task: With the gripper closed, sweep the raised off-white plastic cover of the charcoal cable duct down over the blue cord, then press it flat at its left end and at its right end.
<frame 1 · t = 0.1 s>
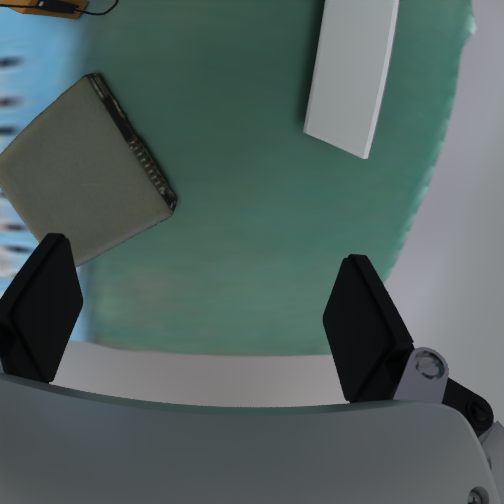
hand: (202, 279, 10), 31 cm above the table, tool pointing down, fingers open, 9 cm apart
network switch: (82, 174, 39), on the table
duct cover: (353, 33, 24), point 8 cm above the table, hinge at 60.0°
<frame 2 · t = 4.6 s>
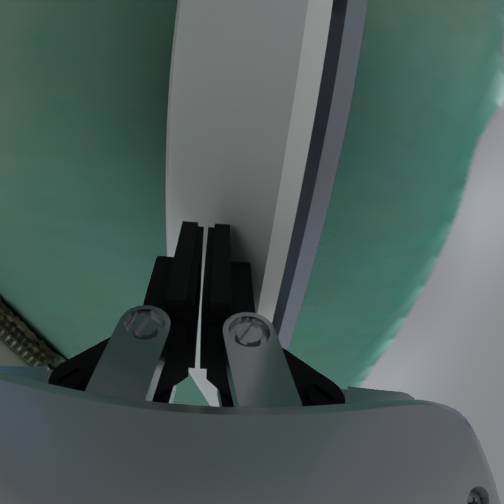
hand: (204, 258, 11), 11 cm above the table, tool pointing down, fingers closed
cable duct: (255, 165, 20), on the table
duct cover: (210, 225, 13), point 8 cm above the table, hinge at 59.7°, touching gripper
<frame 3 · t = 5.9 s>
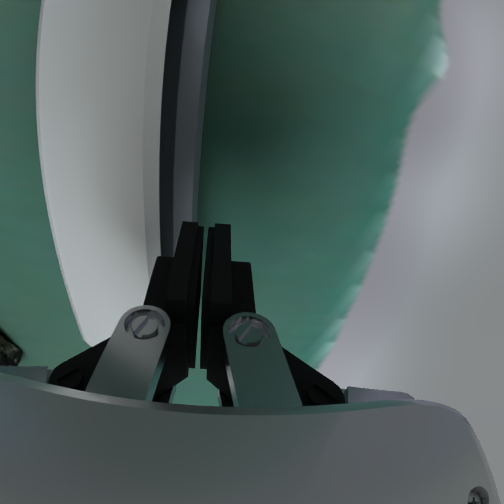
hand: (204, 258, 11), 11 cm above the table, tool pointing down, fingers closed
cable duct: (146, 158, 20), on the table
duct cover: (89, 206, 13), point 7 cm above the table, hinge at 32.3°
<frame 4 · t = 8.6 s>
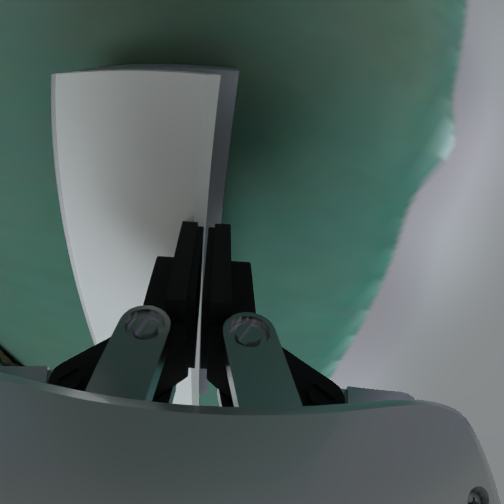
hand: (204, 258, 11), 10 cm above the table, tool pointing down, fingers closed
cable duct: (165, 240, 22), on the table
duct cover: (128, 311, 16), point 7 cm above the table, hinge at 29.5°, touching gripper
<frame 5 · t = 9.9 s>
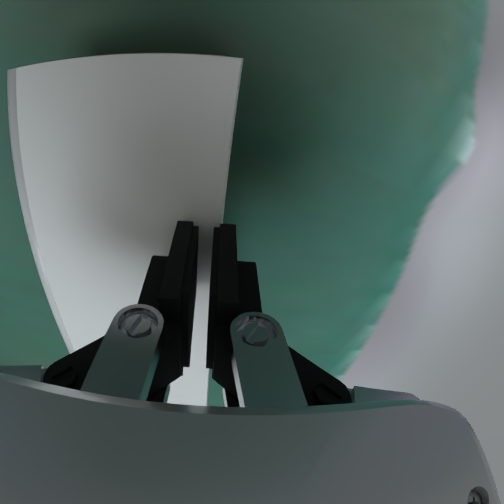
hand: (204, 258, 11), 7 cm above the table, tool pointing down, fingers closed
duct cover: (124, 323, 15), point 6 cm above the table, hinge at 6.9°, touching gripper
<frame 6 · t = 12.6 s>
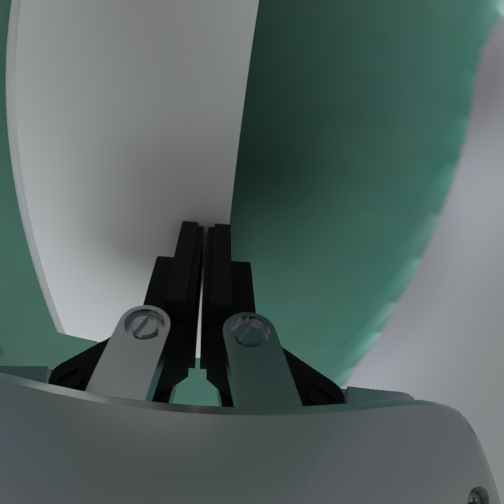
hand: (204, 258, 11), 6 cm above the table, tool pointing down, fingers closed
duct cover: (107, 76, 8), point 6 cm above the table, hinge at 4.1°, touching gripper
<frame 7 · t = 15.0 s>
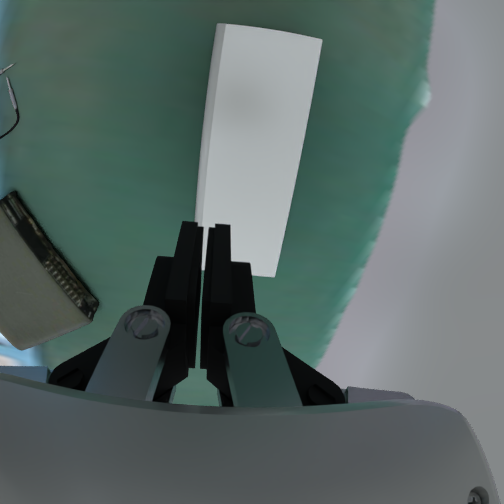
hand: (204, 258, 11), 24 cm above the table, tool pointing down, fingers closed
network switch: (21, 273, 40), on the table
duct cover: (249, 160, 28), point 6 cm above the table, hinge at 1.8°
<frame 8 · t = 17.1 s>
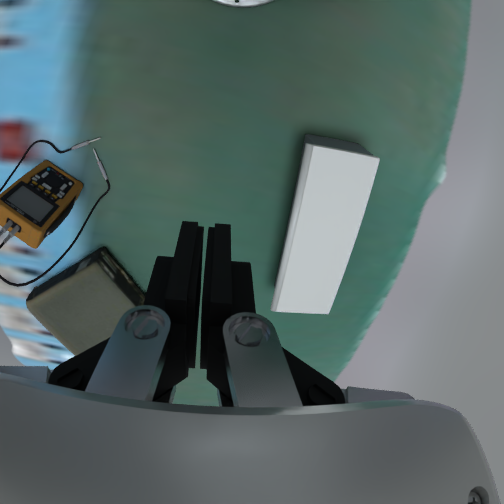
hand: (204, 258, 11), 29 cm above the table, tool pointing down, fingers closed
network switch: (102, 309, 52), on the table
cable duct: (313, 220, 44), on the table
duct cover: (320, 241, 40), point 6 cm above the table, hinge at 1.8°
multimeter: (71, 157, 36), on the table
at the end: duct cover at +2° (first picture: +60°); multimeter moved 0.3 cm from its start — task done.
